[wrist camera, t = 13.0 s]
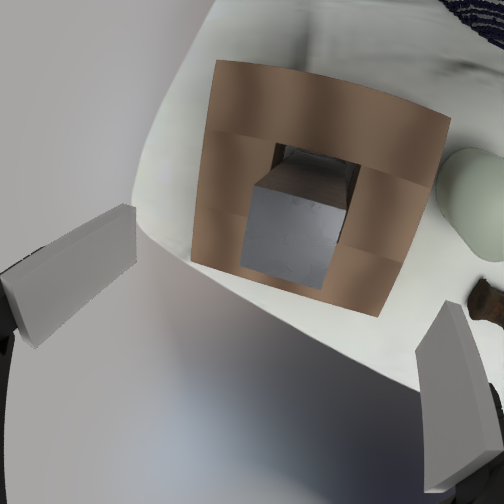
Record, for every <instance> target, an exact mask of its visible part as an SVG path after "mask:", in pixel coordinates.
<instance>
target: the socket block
mask: <svg viewBox="0 0 504 504" xmlns="http://www.w3.org/2000/svg"><path fill="white" fill-rule="evenodd" d="M450 121H451V118H450V117H448V116H445V115H443V114H441V113H438V112H436V111H433V110H431V109H428V108H426V107H423V106H421V105H418V104H416V103H413V102H410V101H407V100H405V99H402V98H399V97H396V96H393V95H390V94H387V93H384V92H381V91H378V90H374V89H371V88H368V87H364V86H361V85H357V84H354V83H350V82H346V81H342V80H338V79H334V78H330V77H326V76H322V75H317V74H312V73H308V72H303V71H298V70H292V69H287V68H281V67H275V66H268V65H261V64H253V63H245V62H236V61H226V60H216V65H215V70H214V76H213V82H212V88H211V94H210V100H209V106H208V113H207V120H206V126H205V133H204V141H203V148H202V156H201V163H200V171H199V180H198V189H197V198H196V207H195V217H194V227H193V238H192V249H191V261H192V262H195V263H198V264H201V265H204V266H207V267H210V268H214V269H217V270H220V271H223V272H226V273H229V274H233V275H236V276H239V277H242V278H245V279H249V280H252V281H255V282H258V283H262V284H265V285H268V286H271V287H275V288H278V289H281V290H285V291H288V292H291V293H295V294H298V295H301V296H305V297H308V298H312V299H315V300H318V301H322V302H325V303H329V304H332V305H336V306H339V307H343V308H346V309H350V310H353V311H357V312H360V313H364V314H367V315H371V316H374V317H378V316H379V314H380V312H381V310H382V308H383V306H384V304H385V302H386V300H387V298H388V296H389V293H390V291H391V289H392V287H393V285H394V283H395V281H396V278H397V276H398V274H399V272H400V269H401V267H402V265H403V262H404V260H405V258H406V255H407V253H408V251H409V248H410V246H411V243H412V241H413V238H414V236H415V233H416V231H417V228H418V225H419V223H420V220H421V217H422V214H423V212H424V209H425V206H426V203H427V200H428V197H429V194H430V191H431V188H432V185H433V182H434V179H435V176H436V173H437V169H438V166H439V163H440V159H441V156H442V152H443V149H444V145H445V141H446V137H447V133H448V129H449V125H450ZM286 145H289V146H293V147H298V148H302V149H306V150H309V151H313V152H317V153H321V154H325V155H328V156H332V157H336V158H339V159H343V160H346V161H349V162H353V163H356V166H355V169H354V173H353V177H352V180H351V184H350V188H349V191H348V195H347V198H346V206H347V211H346V214H345V218H344V221H343V224H342V227H341V231H340V234H339V237H338V240H337V243H336V246H335V249H334V252H333V255H332V258H331V261H330V264H329V267H328V270H327V273H326V276H325V279H324V282H323V285H322V287H321V290H318V289H315V288H311V287H308V286H304V285H301V284H298V283H294V282H291V281H288V280H284V279H281V278H278V277H274V276H271V275H268V274H264V273H261V272H258V271H254V270H251V269H248V268H245V267H241V266H239V263H240V257H241V252H242V246H243V240H244V235H245V229H246V224H247V218H248V212H249V207H250V201H251V196H252V190H253V185H254V184H256V183H257V182H258V181H259V180H260V179H262V178H263V177H264V176H265V175H266V174H268V173H269V172H270V171H271V170H272V169H274V168H275V167H276V166H277V165H279V164H280V163H281V162H282V160H283V156H284V151H285V146H286Z"/></svg>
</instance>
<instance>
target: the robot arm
mask: <svg viewBox="0 0 504 504" xmlns="http://www.w3.org/2000/svg"><path fill="white" fill-rule="evenodd" d="M136 262H137V260H136V207H133V206H129V205H126V204H121V205H119V206H117V207H115V208H113V209H111V210H109V211H107V212H105V213H103V214H102V215H100V216H98V217H96V218H94V219H92V220H90V221H89V222H87V223H85V224H83V225H81V226H80V227H78V228H76V229H74V230H72V231H71V232H69V233H67V234H65V235H64V236H62V237H60V238H59V239H57V240H55V241H53V242H52V243H50V244H48V245H47V246H44V247H41V248H39V249H38V250H36V251H35V252H33V253H31V255H28V256H26V257H25V258H23V260H20V261H18V262H17V263H16V264H14V265H12V266H11V267H9V268H8V269H6V270H5V271H3V272H2V273H0V504H7V499H6V489H5V476H4V475H5V474H4V422H5V421H4V420H5V407H6V395H7V386H8V378H9V370H10V364H11V358H12V352H13V347H14V341H15V335H14V333H13V331H14V330H15V329H17V328H18V330H19V332H20V335H21V337H22V339H23V341H25V342H26V343H27V344H28V345H30V346H31V347H32V348H33V349H36V348H38V346H39V345H41V344H42V343H43V342H44V341H45V340H46V339H47V338H48V337H49V336H51V335H52V334H53V333H54V332H55V331H56V330H57V329H58V328H59V327H61V326H62V325H63V324H64V323H65V322H66V321H67V320H68V319H70V318H71V317H72V316H73V315H74V314H75V313H76V312H77V311H79V310H80V309H81V308H82V307H83V306H84V305H85V304H87V303H88V302H89V301H90V300H91V299H93V298H94V297H95V296H96V295H97V294H98V293H100V292H101V291H102V290H103V289H104V288H106V287H107V286H108V285H109V284H110V283H112V282H113V281H114V280H115V279H116V278H118V277H119V276H120V275H121V274H123V273H124V272H125V271H126V270H127V269H129V268H130V267H131V266H133V265H134V264H135V263H136ZM415 353H416V360H417V367H418V375H419V383H420V392H421V403H422V414H423V430H424V454H425V455H424V459H425V480H424V482H425V483H424V493H443V492H445V491H446V490H448V489H450V488H451V487H453V486H455V485H456V493H454V494H453V495H451V496H449V497H447V498H446V499H444V500H442V501H440V502H438V503H437V504H504V413H503V410H502V409H501V408H502V405H501V402H500V398H499V395H498V393H497V391H496V390H495V388H494V386H493V385H492V383H488V379H487V376H486V373H485V370H484V366H483V363H482V360H481V357H480V354H479V352H478V349H477V346H476V343H475V340H474V338H473V335H472V332H471V330H470V327H469V325H468V322H467V320H466V317H465V315H464V312H463V310H462V307H461V305H459V304H456V303H453V302H450V301H447V300H446V301H445V302H444V304H443V306H442V308H441V310H440V311H439V313H438V315H437V316H436V318H435V320H434V321H433V323H432V325H431V326H430V328H429V330H428V331H427V333H426V335H425V336H424V338H423V339H422V341H421V342H420V344H419V346H418V347H417V349H416V350H415Z"/></svg>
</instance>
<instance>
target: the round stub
mask: <svg viewBox="0 0 504 504" xmlns="http://www.w3.org/2000/svg"><path fill="white" fill-rule="evenodd" d="M436 198H437V203H438V206H439V208H440V211H441V212H442V214H443V216H444V217H445V218H446V219H447V221H448V222H449V223H450V224H451V225H452V227H453V228H454V229H455V230H456V231H457V233H458V234H459V235H460V236H461V238H462V239H463V240H464V242H465V243H466V244H467V245H468V247H469V248H470V249H471V251H472V252H473V253H474V254H475V255H477V256H478V257H479V258H481V259H483V260H486V261H490V262H501V261H504V158H502V157H499V156H497V155H494V154H491V153H489V152H486V151H483V150H480V149H477V148H465V149H461V150H459V151H456V152H455V153H453V154H452V155H451V156H449V157H448V159H447V160H446V161H445V162H444V164H443V165H442V167H441V169H440V171H439V174H438V177H437V181H436Z"/></svg>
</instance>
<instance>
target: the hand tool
mask: <svg viewBox="0 0 504 504" xmlns="http://www.w3.org/2000/svg"><path fill="white" fill-rule="evenodd" d="M467 307H468V310H469V316H470V318H471V319H472V320H488V321H490V322H492V323H496V324H498V325H499V326H501V327H502V328H503V329H504V293H501V292H499V291H497V290H495V289H493V288H491V287H490V285H489V283H488V282H487V281H486V279H482V280H479V282H478V283H477V285H476V286H475V288H474V289H473V291H472V292H471V294H470V297H469V299H468V303H467Z"/></svg>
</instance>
